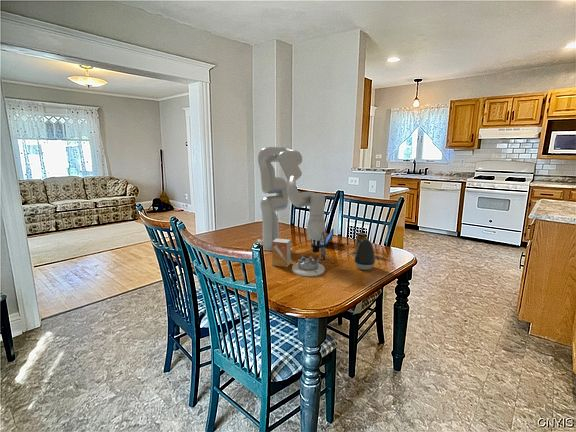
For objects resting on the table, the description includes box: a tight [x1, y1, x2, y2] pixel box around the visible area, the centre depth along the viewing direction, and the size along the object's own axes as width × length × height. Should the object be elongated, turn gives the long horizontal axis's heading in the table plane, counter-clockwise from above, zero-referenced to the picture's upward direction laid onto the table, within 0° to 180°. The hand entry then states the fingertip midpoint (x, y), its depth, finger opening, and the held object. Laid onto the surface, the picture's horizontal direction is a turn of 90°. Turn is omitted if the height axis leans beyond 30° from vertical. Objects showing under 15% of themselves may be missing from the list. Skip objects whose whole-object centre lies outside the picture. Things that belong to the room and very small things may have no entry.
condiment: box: [350, 232, 368, 256], centre depth 181 cm, size 7×8×12 cm
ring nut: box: [297, 247, 327, 271], centre depth 157 cm, size 16×10×8 cm, turn 128°
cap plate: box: [291, 262, 325, 277], centre depth 156 cm, size 16×16×2 cm
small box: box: [271, 238, 292, 268], centre depth 163 cm, size 8×6×13 cm
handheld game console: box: [310, 228, 334, 249], centre depth 200 cm, size 16×13×9 cm
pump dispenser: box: [353, 238, 376, 271], centre depth 158 cm, size 10×10×15 cm
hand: (315, 251), depth 165 cm, fingers closed
